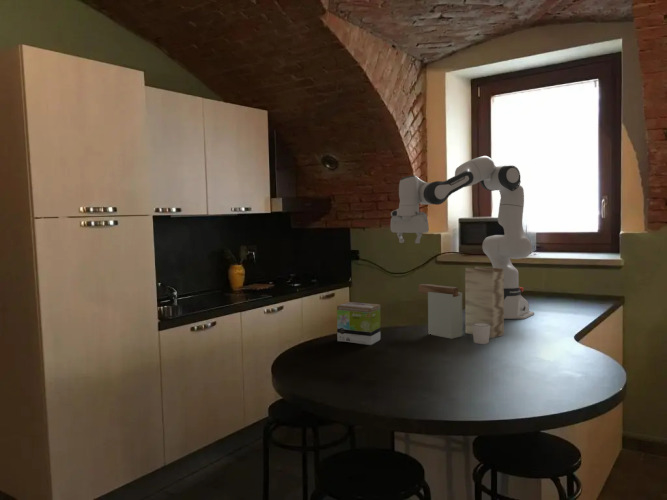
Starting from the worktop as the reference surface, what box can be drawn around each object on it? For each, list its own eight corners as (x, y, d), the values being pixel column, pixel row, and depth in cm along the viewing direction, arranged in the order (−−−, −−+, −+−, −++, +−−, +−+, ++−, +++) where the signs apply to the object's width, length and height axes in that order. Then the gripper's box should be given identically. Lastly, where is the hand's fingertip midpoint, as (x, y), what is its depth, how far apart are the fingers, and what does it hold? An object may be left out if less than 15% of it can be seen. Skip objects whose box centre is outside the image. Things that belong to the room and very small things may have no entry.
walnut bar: (423, 291, 231) (423, 283, 231) (458, 296, 217) (458, 287, 217) (418, 292, 229) (418, 284, 228) (452, 297, 215) (452, 288, 215)
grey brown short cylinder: (488, 340, 211) (488, 322, 210) (492, 344, 204) (492, 326, 204) (470, 340, 212) (470, 322, 211) (473, 344, 205) (473, 326, 204)
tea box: (336, 342, 213) (335, 305, 212) (347, 336, 222) (347, 301, 221) (371, 345, 206) (370, 307, 205) (381, 340, 215) (380, 303, 214)
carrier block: (439, 331, 228) (438, 290, 227) (462, 335, 219) (462, 292, 218) (428, 334, 224) (427, 291, 222) (451, 338, 214) (451, 294, 213)
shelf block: (477, 330, 229) (476, 266, 228) (503, 334, 219) (503, 268, 218) (465, 332, 224) (465, 268, 222) (492, 337, 214) (492, 270, 212)
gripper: (431, 211, 235) (432, 243, 235) (397, 212, 250) (398, 242, 251) (422, 211, 231) (422, 243, 231) (388, 212, 246) (388, 242, 247)
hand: (409, 242), depth 241 cm, fingers open, 8 cm apart
